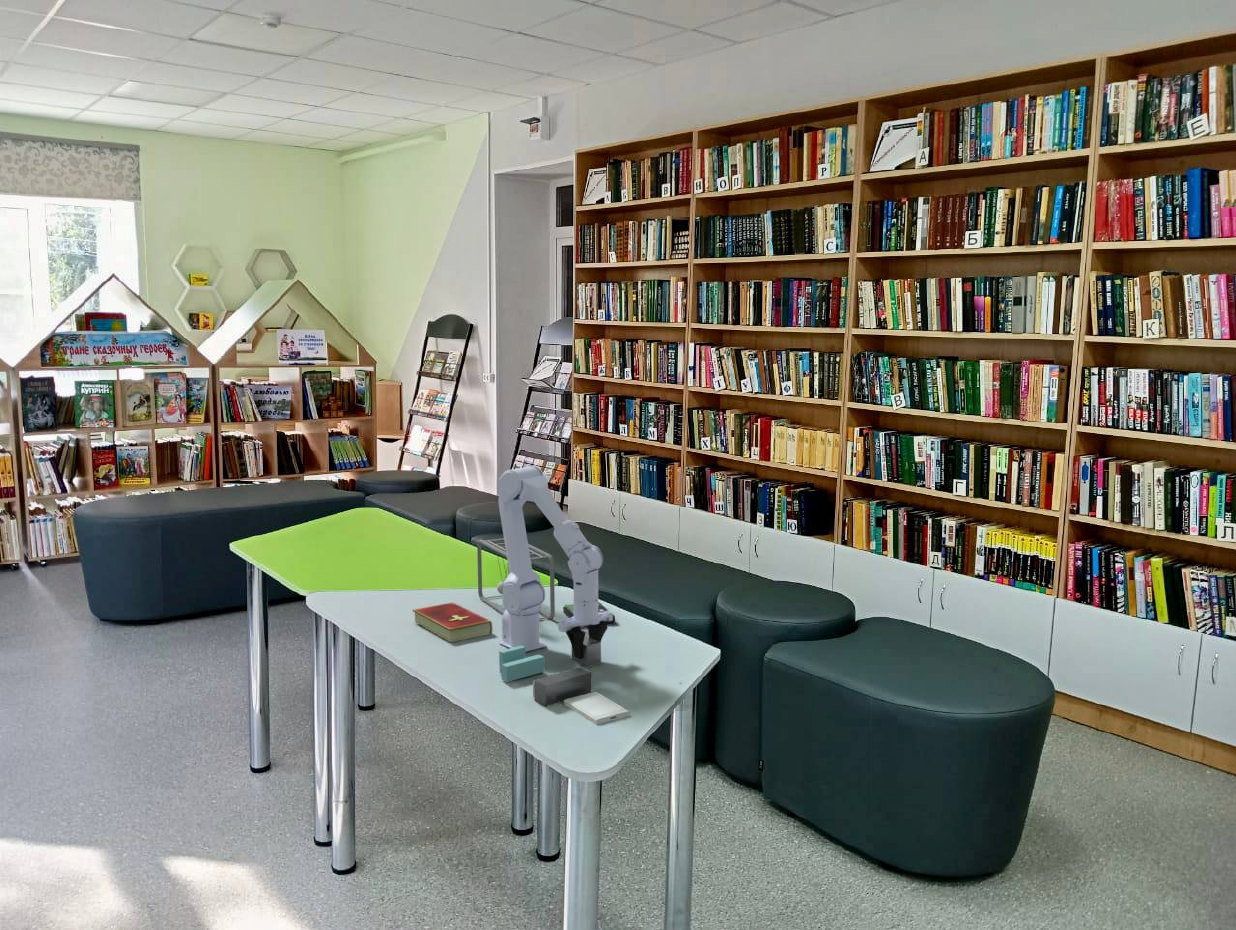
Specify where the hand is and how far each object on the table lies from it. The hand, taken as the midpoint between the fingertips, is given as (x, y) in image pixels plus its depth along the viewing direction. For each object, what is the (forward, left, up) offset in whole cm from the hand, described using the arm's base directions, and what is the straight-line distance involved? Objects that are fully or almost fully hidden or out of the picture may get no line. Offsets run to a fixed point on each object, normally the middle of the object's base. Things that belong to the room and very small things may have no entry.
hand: (586, 655), depth 226 cm
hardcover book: (-42, -11, -2) cm, 44 cm away
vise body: (+12, -17, -1) cm, 21 cm away
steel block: (0, 0, -1) cm, 1 cm away
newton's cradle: (-46, +11, -2) cm, 47 cm away
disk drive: (-26, +21, -2) cm, 34 cm away
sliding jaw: (-3, -17, -1) cm, 17 cm away
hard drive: (+24, -16, -2) cm, 29 cm away
